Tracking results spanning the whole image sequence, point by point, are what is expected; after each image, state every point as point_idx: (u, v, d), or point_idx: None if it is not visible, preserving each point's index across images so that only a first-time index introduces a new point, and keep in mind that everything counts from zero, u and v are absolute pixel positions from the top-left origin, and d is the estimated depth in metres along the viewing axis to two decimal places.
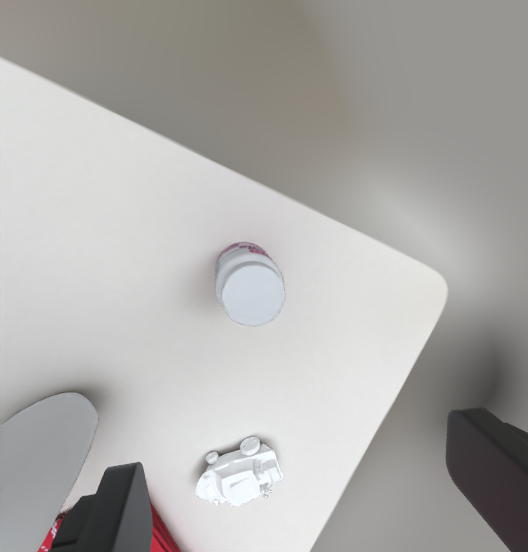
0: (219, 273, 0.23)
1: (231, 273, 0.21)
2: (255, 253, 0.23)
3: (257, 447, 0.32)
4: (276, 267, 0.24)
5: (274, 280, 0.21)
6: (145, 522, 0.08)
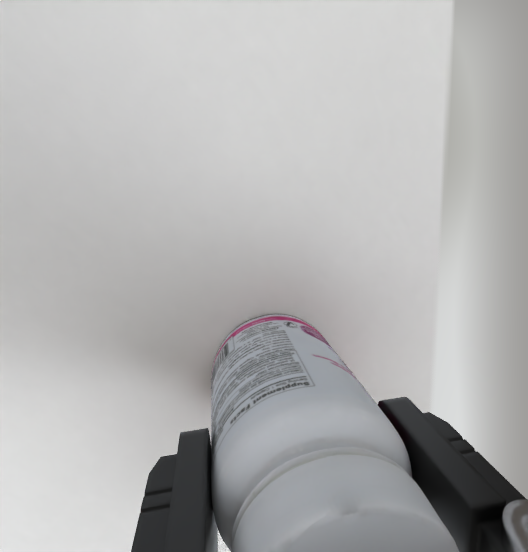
0: (314, 403, 0.08)
1: (395, 498, 0.06)
2: None
3: None
4: None
5: None
6: None
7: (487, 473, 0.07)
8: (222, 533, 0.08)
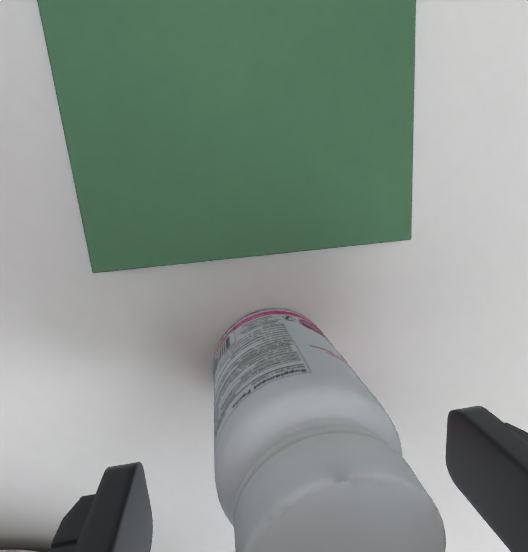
0: (311, 387, 0.08)
1: (382, 468, 0.06)
2: None
3: None
4: None
5: None
6: (145, 522, 0.08)
7: None
8: (225, 508, 0.08)
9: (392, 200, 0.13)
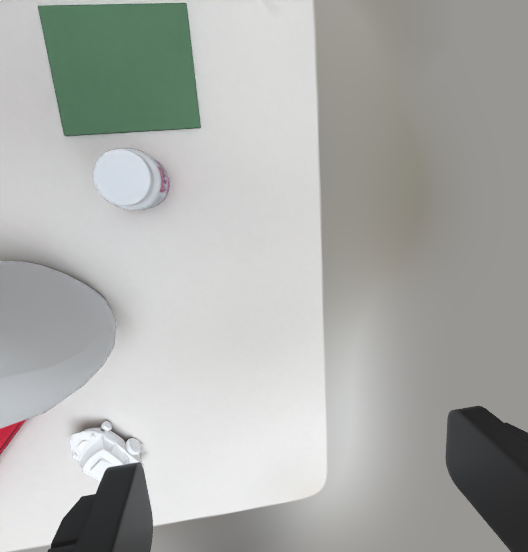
0: (125, 148, 0.27)
1: (129, 150, 0.25)
2: (158, 169, 0.27)
3: (137, 453, 0.38)
4: (156, 191, 0.28)
5: (144, 186, 0.25)
6: (145, 522, 0.08)
7: None
8: None
9: (189, 109, 0.32)
